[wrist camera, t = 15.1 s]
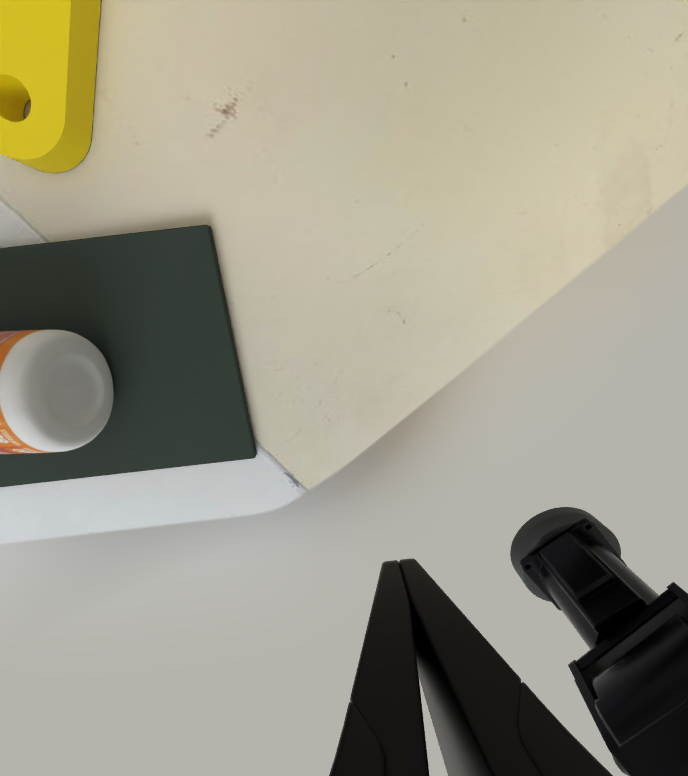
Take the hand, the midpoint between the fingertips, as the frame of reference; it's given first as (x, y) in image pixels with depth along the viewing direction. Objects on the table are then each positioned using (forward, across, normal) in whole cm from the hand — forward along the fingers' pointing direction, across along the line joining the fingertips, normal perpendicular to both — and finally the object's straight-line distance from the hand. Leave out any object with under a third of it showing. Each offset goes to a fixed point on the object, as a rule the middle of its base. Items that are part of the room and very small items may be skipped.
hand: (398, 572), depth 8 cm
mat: (+13, +20, -5) cm, 24 cm away
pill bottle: (+9, +14, -4) cm, 17 cm away
